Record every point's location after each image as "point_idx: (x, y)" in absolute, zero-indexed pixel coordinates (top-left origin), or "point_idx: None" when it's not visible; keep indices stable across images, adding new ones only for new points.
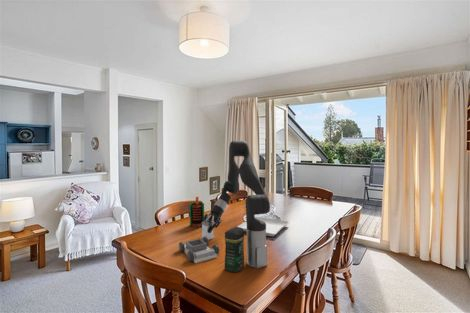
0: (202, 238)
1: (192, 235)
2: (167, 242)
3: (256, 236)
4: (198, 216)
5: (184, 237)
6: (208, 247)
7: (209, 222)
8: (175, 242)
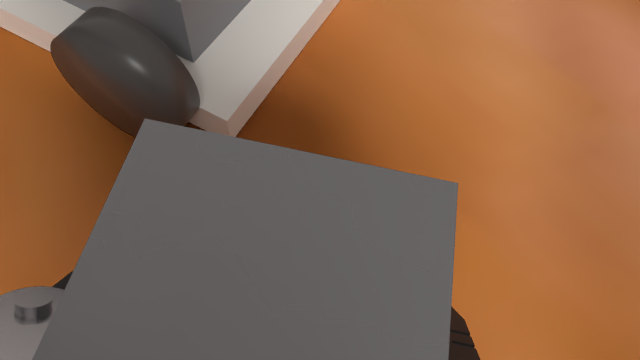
0: (178, 63)
1: (599, 353)
2: (613, 28)
3: None
4: None
5: (614, 220)
6: (22, 16)
7: (146, 303)
8: (546, 57)
